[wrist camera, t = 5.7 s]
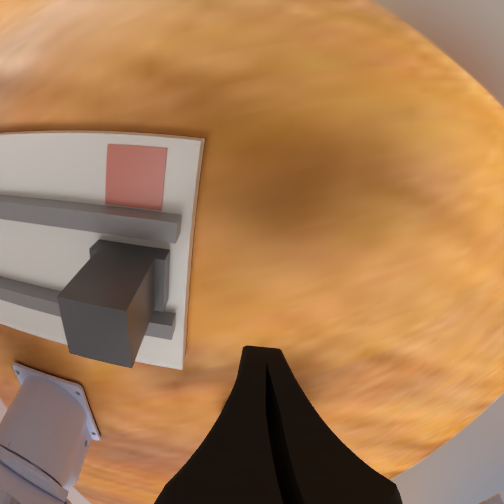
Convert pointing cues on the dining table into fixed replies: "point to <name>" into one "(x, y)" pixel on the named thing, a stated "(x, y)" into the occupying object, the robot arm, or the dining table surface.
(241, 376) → the robot arm
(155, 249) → the lever
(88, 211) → the slider rail board
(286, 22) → the dining table surface
